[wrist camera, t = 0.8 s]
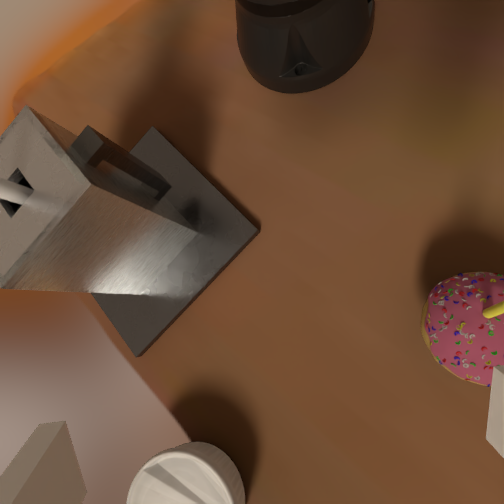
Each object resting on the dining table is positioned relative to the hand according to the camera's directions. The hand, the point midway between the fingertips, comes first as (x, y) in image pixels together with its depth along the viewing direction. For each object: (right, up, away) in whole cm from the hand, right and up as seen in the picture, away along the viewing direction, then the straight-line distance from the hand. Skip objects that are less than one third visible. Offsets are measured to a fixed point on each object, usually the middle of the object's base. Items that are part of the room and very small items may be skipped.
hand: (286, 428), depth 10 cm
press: (-14, +7, +30) cm, 34 cm away
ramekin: (-6, -19, +24) cm, 31 cm away
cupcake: (+18, -1, +19) cm, 26 cm away
